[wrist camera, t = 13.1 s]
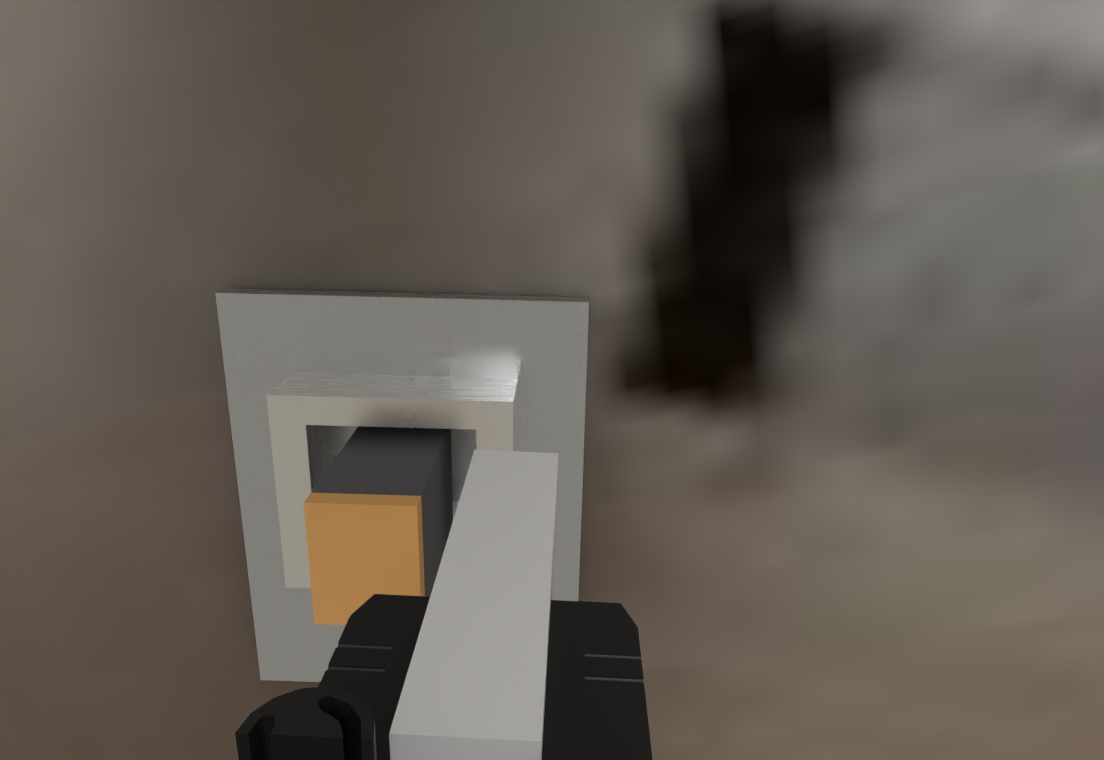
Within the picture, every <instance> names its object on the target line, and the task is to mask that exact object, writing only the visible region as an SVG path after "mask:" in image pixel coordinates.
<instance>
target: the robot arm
mask: <svg viewBox="0 0 1104 760" xmlns="http://www.w3.org/2000/svg"><path fill="white" fill-rule="evenodd" d="M558 457H559V453H543V452H520V451H498V450H476V449H475V450H474V453H473V456H472V459H471V463H470V466H469V469H468V473H467V476H466V479H465V483H464V486H463V489H462V493H461V496H460V499H459V503H458V506H457V509H456V513H455V516H454V519H453V523H452V526H451V529H450V533H449V536H448V539H447V543H446V546H445V549H444V553H443V556H442V559H441V563H440V566H439V569H438V573H437V576H436V579H435V583H434V586H433V589H432V593H431V596H430V597H428V596H407V595H387V594H374V595H373V596H372V597H370V598H369V599H368V600H367V601H366V602H365V603H364V604H363V605H361V606H360V607H359V608H358V609H357V610H356V611H355V612H354V613H353V614H351V615H350V617H349V619H348V621H347V624H346V626H345V628H344V630H343V633H342V635H341V637H340V639H339V642H338V647H337V648H335V651H334V653H333V655H332V657H331V660H330V662H329V664H328V670H326V671H325V673H324V675H323V677H322V680H321V682H320V684H319V686H318V687H315V688H304V689H298V690H295V691H292V692H289V693H286V694H284V695H281V696H278V697H275V698H273V699H271V700H270V701H268V702H267V703H265V704H264V705H262V706H261V707H260V708H258V709H257V710H255V711H254V712H252V713H251V714H250V715H249V716H248V718H247V719H246V720H245V721H244V723H243V724H242V725H241V726H240V728H239V729H238V730H237V731H236V732H235V734H236V741H237V749H238V756H239V760H652V753H651V744H650V734H649V725H648V716H647V707H646V698H645V689H644V684H643V671H642V662H641V653H640V644H639V635H638V627H637V626H636V624H635V623H634V622H633V620H632V619H631V617H630V616H629V615H628V613H627V612H626V610H625V609H624V608H623V606H622V605H621V603H602V602H581V601H561V600H553V582H554V557H555V532H556V507H557V482H558Z"/></svg>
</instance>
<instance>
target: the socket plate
mask: <svg viewBox="0 0 1104 760" xmlns="http://www.w3.org/2000/svg"><path fill="white" fill-rule="evenodd" d="M215 295H216V304H217V312H218V321H219V329H220V338H221V346H222V355H223V363H224V372H225V380H226V389H227V397H228V406H229V414H230V423H231V432H232V440H233V449H234V457H235V466H236V474H237V483H238V491H239V500H240V508H241V517H242V525H243V534H244V542H245V551H246V560H247V568H248V577H249V585H250V594H251V602H252V611H253V619H254V628H255V636H256V645H257V653H258V662H259V670H260V679H261V680H272V681H302V682H321V680H322V677H323V675H324V673H325V671H326V670H328V664H329V662H330V660H331V657H332V655H333V653H334V651H335V648H337V647H338V642H339V639H340V637H341V635H342V633H343V630H344V628H345V626H346V625H329V624H314V614H313V602H312V591H311V580H310V569H309V557H308V546H307V535H306V523H305V512H304V502H305V500H306V499H307V498H308V496H309V495H310V493H311V492H312V490H313V489H314V488H315V486H316V485H317V483H318V482H319V481H320V479H321V478H322V476H323V475H324V474H325V472H326V471H327V469H328V468H329V467H330V465H331V464H332V462H333V461H334V460H335V458H336V457H337V455H338V454H339V452H340V451H341V450H342V448H343V447H344V445H345V444H346V443H347V441H348V440H349V438H350V437H351V436H352V434H353V433H354V431H355V430H356V429H357V427H358V426H365V427H401V428H437V429H451V453H452V498H453V519H454V516H455V513H456V509H457V506H458V503H459V499H460V496H461V493H462V489H463V486H464V483H465V479H466V476H467V473H468V469H469V466H470V463H471V459H472V456H473V453H474V450H475V449H476V450H498V451H520V452H543V453H559V457H558V482H557V507H556V532H555V557H554V582H553V600H561V601H578V598H579V570H580V543H581V515H582V487H583V459H584V432H585V404H586V376H587V349H588V321H589V297H557V296H517V295H477V294H437V293H397V292H357V291H317V290H277V289H237V288H225V289H222V290H220V291H218V292H216V293H215Z"/></svg>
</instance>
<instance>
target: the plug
mask: <svg viewBox="0 0 1104 760" xmlns="http://www.w3.org/2000/svg"><path fill="white" fill-rule="evenodd" d="M304 512H305V523H306V535H307V546H308V557H309V569H310V580H311V591H312V602H313V614H314V624H329V625H346V624H347V621H348V619H349V617H350V615H351V614H353V613H354V612H355V611H356V610H357V609H358V608H359V607H360V606H361V605H363V604H364V603H365V602H366V601H367V600H368V599H369V598H370V597H372V596H373V595H374V594H387V595H407V596H428V597H430V596H431V593H432V589H433V586H434V583H435V579H436V576H437V573H438V569H439V566H440V563H441V559H442V556H443V553H444V549H445V546H446V543H447V539H448V536H449V533H450V529H451V526H452V523H453V498H452V453H451V429H437V428H401V427H365V426H358V427H357V429H356V430H355V431H354V433H353V434H352V436H351V437H350V438H349V440H348V441H347V443H346V444H345V445H344V447H343V448H342V450H341V451H340V452H339V454H338V455H337V457H336V458H335V460H334V461H333V462H332V464H331V465H330V467H329V468H328V469H327V471H326V472H325V474H324V475H323V476H322V478H321V479H320V481H319V482H318V483H317V485H316V486H315V488H314V489H313V490H312V492H311V493H310V495H309V496H308V498H307V499H306V500H305V502H304Z"/></svg>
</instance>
